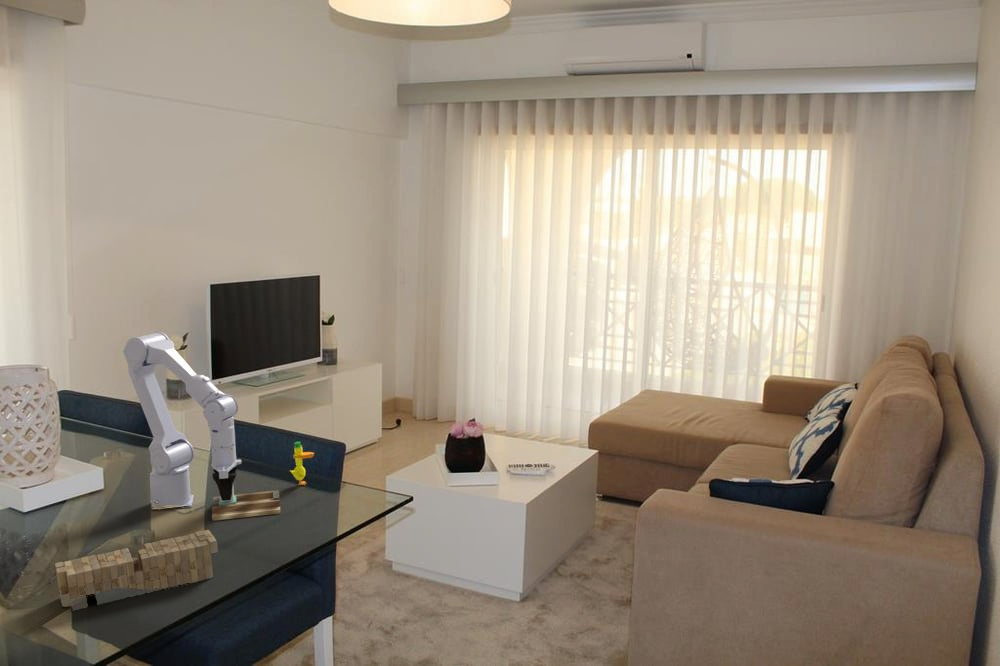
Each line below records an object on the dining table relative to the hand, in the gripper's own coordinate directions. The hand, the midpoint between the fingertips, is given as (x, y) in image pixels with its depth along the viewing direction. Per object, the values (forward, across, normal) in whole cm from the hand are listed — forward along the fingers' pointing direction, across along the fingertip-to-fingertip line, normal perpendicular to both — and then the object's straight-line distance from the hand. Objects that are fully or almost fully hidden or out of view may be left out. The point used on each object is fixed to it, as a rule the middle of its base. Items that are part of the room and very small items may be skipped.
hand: (226, 497), depth 210 cm
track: (+3, 0, -5) cm, 6 cm away
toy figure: (+4, +14, -19) cm, 24 cm away
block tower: (+4, -39, +15) cm, 42 cm away
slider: (+2, 0, 0) cm, 2 cm away
